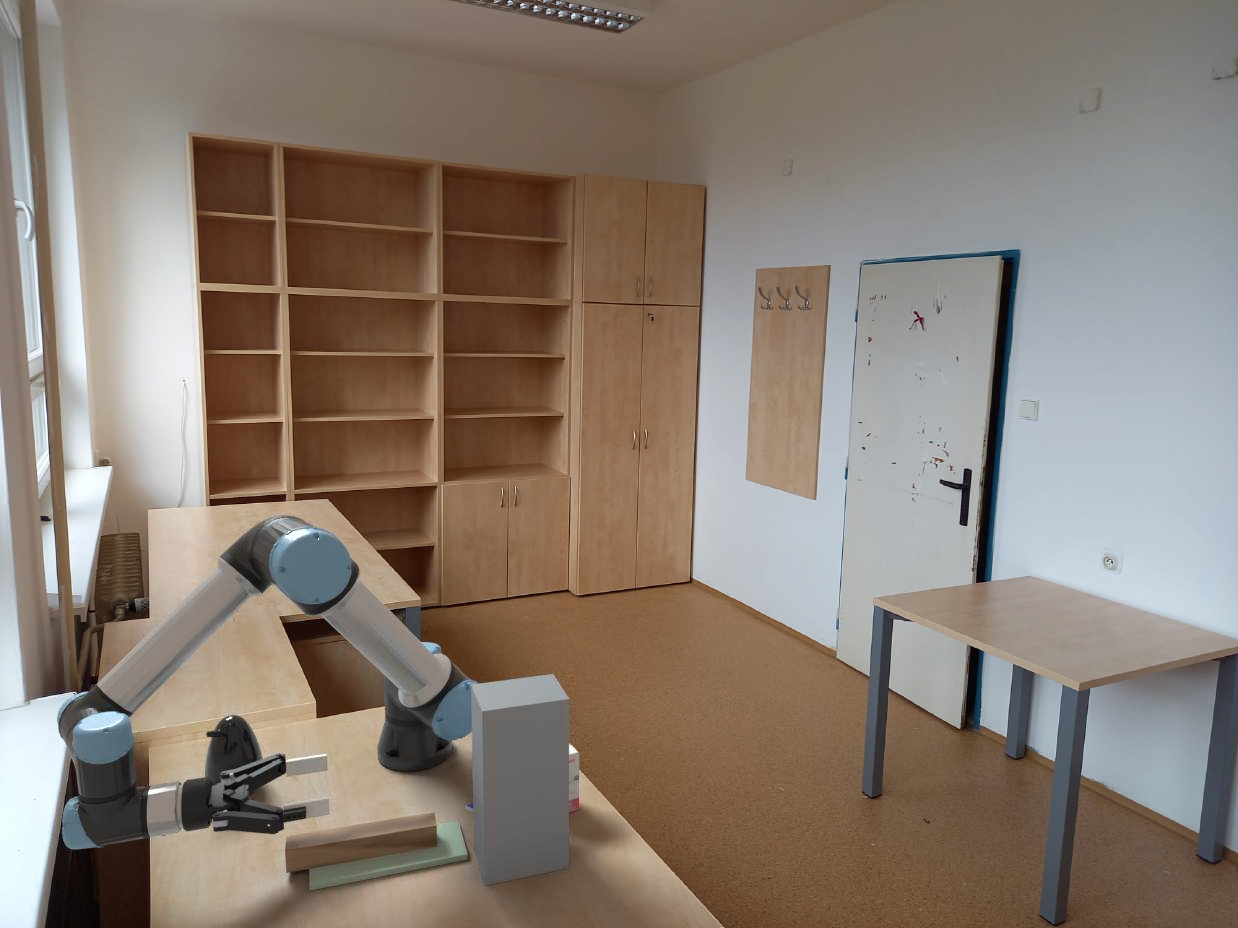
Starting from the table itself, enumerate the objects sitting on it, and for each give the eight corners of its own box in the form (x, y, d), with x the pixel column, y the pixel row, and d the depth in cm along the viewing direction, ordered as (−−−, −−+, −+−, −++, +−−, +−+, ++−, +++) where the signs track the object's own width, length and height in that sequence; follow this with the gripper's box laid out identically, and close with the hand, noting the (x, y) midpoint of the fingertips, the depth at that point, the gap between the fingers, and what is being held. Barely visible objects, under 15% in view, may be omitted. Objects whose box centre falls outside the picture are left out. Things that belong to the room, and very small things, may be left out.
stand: (473, 848, 146) (471, 684, 141) (553, 833, 150) (553, 673, 145) (484, 885, 137) (482, 711, 131) (568, 867, 141) (569, 698, 136)
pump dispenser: (193, 797, 160) (187, 722, 157) (238, 771, 169) (233, 699, 167) (232, 811, 156) (226, 734, 153) (276, 783, 165) (272, 710, 162)
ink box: (569, 797, 162) (569, 739, 160) (580, 810, 158) (580, 751, 155) (526, 809, 158) (526, 750, 156) (537, 823, 153) (537, 762, 151)
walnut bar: (287, 857, 141) (286, 835, 141) (434, 832, 148) (434, 812, 148) (286, 872, 137) (284, 850, 137) (437, 846, 145) (436, 825, 144)
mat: (310, 852, 144) (309, 847, 144) (458, 825, 152) (458, 820, 152) (309, 890, 135) (309, 884, 135) (467, 859, 143) (467, 853, 143)
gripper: (194, 786, 143) (327, 765, 150) (172, 878, 120) (331, 848, 127) (191, 744, 142) (325, 726, 149) (168, 829, 119) (328, 802, 126)
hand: (328, 782), depth 138 cm, fingers open, 13 cm apart
